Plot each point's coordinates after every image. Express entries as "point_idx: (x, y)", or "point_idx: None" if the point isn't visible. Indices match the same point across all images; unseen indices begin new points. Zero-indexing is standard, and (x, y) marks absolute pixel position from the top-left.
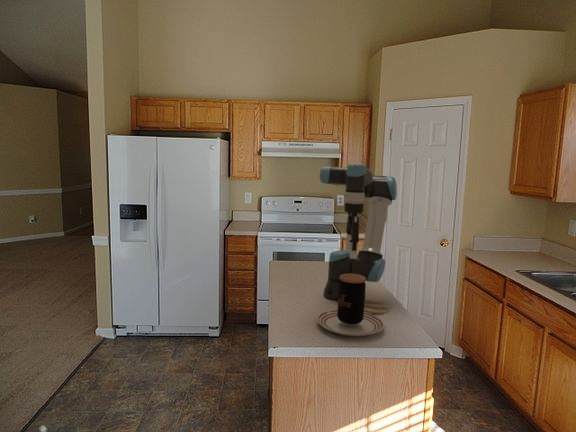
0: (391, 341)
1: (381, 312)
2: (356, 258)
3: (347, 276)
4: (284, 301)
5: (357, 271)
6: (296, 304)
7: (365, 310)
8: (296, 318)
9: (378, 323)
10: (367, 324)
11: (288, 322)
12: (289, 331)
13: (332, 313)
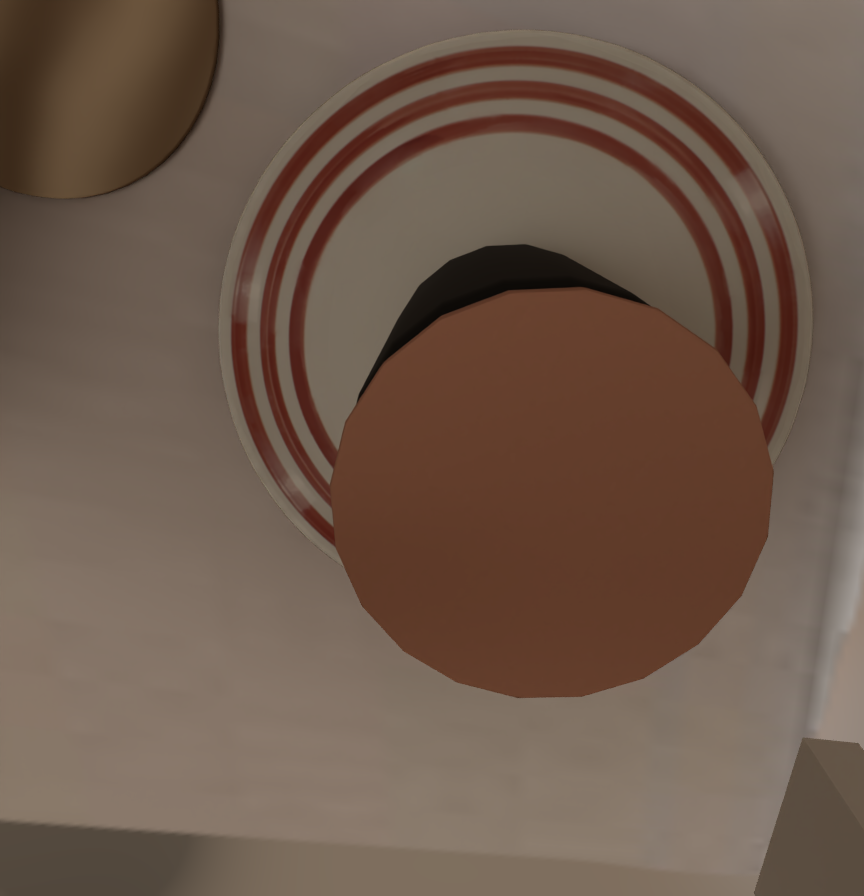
0: (818, 57)
1: None
2: (858, 752)
3: (516, 587)
4: (25, 750)
5: None
6: (73, 675)
7: (146, 101)
8: (360, 708)
9: (528, 82)
10: (493, 185)
11: (434, 764)
12: (582, 773)
13: (293, 453)
